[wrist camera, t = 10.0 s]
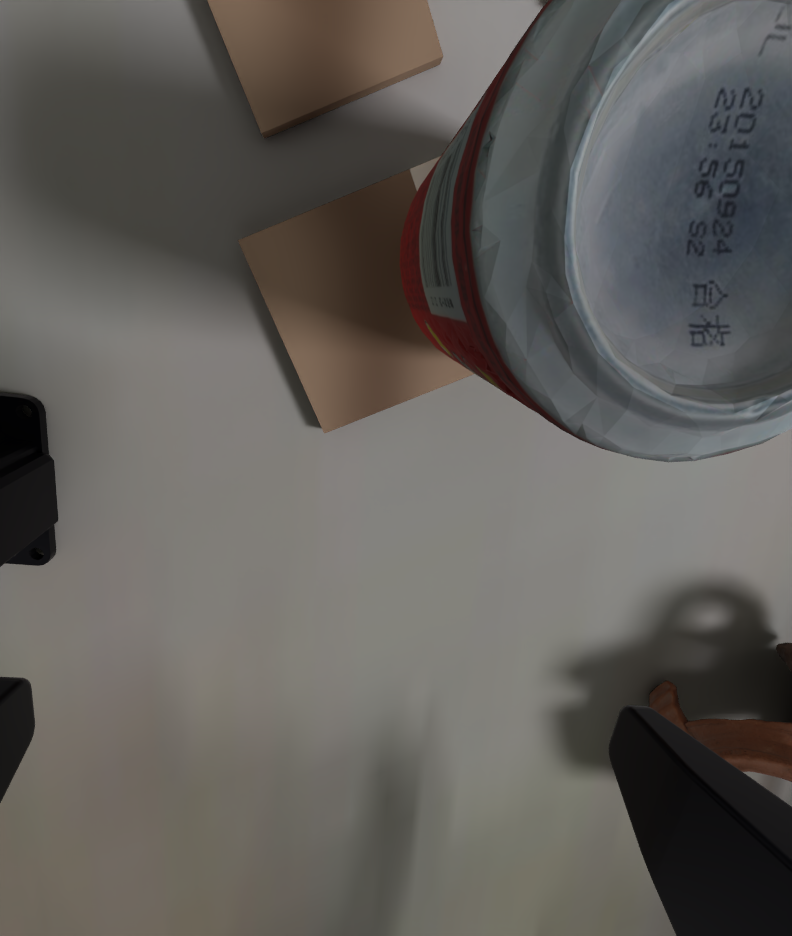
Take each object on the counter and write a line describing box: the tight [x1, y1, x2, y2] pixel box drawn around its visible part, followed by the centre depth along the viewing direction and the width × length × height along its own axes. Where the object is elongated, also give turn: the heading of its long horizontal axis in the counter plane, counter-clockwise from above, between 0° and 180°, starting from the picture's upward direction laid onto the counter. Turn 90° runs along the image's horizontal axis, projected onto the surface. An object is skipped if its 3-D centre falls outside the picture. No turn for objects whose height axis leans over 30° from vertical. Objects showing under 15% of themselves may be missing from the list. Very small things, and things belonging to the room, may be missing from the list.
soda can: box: [400, 0, 792, 462], centre depth 12 cm, size 7×7×12 cm
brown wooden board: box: [238, 156, 474, 433], centre depth 18 cm, size 16×7×1 cm, turn 111°
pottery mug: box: [649, 643, 792, 782], centre depth 23 cm, size 12×9×8 cm
